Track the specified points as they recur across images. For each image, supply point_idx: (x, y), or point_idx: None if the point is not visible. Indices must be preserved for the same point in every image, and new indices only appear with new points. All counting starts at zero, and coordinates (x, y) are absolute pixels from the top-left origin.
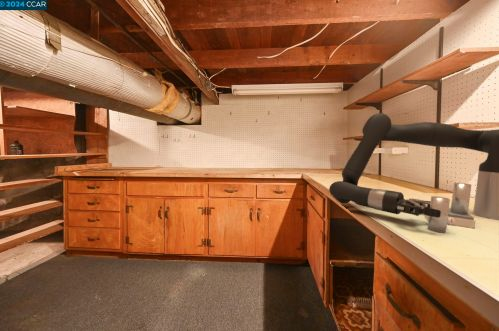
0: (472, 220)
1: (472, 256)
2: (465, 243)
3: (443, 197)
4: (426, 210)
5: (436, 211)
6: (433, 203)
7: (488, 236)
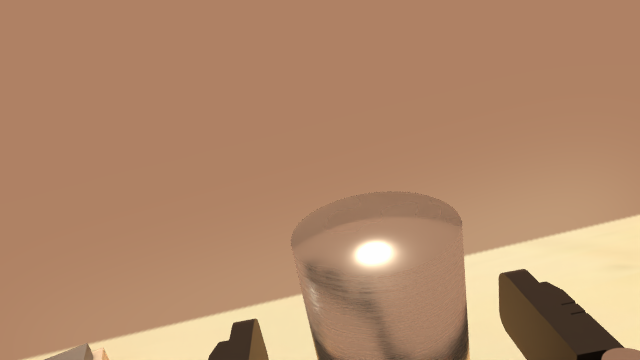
0: (101, 357)
1: (609, 259)
2: (473, 316)
3: (308, 230)
4: (612, 345)
5: (547, 286)
6: (464, 291)
7: (231, 323)
